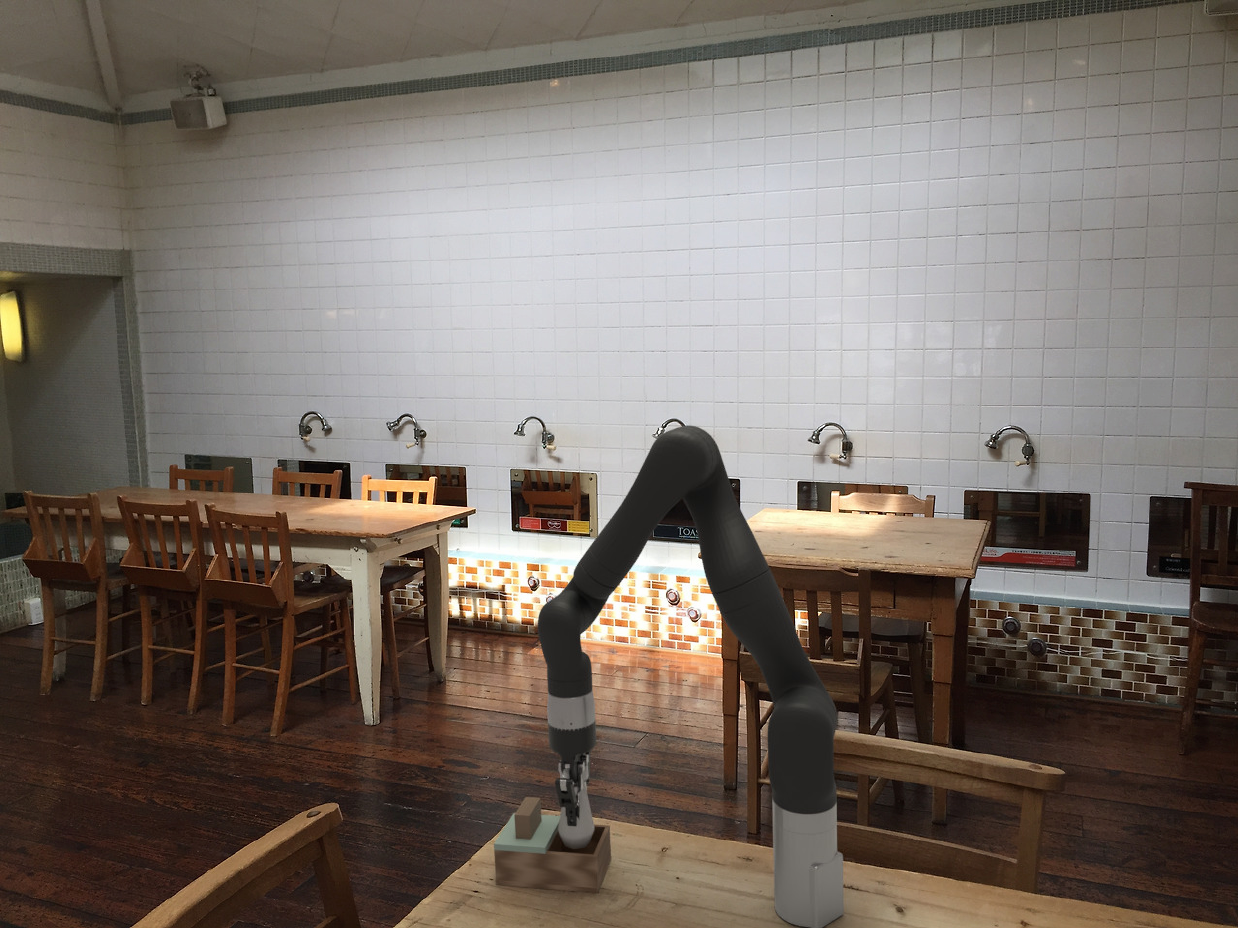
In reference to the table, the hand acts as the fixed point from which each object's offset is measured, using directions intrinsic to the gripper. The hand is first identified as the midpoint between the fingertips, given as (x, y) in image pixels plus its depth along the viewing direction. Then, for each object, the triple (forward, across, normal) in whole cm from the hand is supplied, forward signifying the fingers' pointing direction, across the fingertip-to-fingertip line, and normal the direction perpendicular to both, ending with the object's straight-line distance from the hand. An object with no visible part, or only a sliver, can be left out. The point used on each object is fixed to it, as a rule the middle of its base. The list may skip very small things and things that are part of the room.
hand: (576, 820), depth 150 cm
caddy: (+9, 0, +4) cm, 10 cm away
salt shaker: (+4, 0, 0) cm, 4 cm away
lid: (+3, 0, +8) cm, 9 cm away
